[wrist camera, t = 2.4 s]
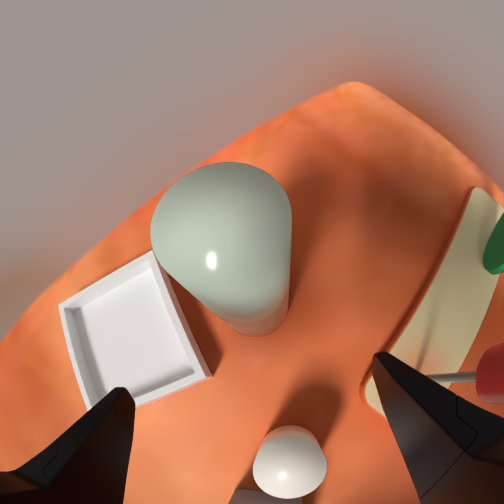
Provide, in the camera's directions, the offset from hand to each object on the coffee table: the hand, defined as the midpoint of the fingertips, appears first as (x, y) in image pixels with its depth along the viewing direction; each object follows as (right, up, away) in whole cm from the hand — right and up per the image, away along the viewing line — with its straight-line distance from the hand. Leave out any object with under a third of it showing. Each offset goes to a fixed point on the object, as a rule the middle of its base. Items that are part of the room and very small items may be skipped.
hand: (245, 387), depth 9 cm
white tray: (-10, -3, +13) cm, 17 cm away
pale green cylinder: (0, +1, +13) cm, 13 cm away
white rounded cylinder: (+3, -10, +8) cm, 13 cm away
